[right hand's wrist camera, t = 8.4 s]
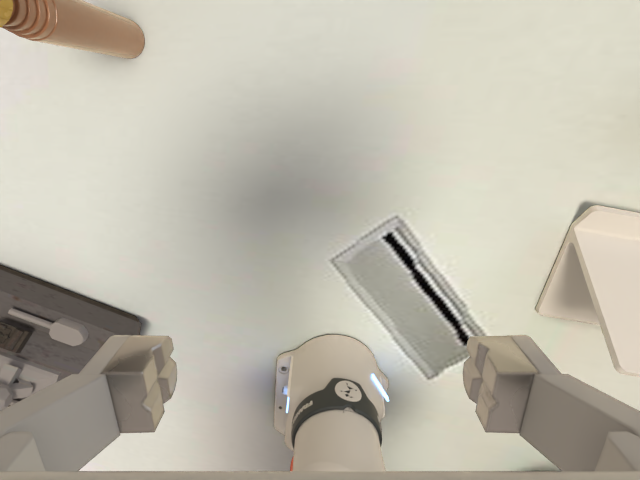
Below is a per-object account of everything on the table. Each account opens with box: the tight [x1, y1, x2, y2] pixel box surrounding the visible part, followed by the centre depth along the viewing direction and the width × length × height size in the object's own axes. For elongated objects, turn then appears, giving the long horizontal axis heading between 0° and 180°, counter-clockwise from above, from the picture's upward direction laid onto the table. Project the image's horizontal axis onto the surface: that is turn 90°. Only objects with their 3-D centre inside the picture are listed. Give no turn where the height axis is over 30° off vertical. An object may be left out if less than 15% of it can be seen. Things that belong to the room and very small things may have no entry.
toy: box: [0, 265, 141, 411], centre depth 55 cm, size 25×20×15 cm
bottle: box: [2, 0, 145, 59], centre depth 37 cm, size 4×4×23 cm
